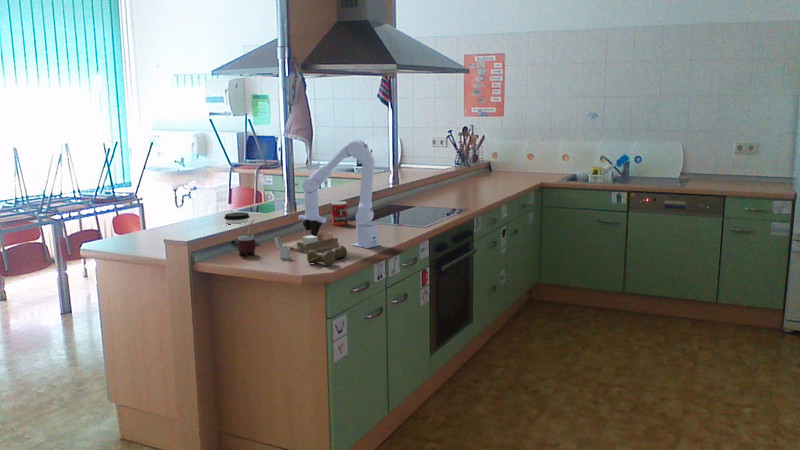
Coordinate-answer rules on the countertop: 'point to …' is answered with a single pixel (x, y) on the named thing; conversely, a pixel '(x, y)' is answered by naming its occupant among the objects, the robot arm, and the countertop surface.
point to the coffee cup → (236, 218)
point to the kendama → (327, 256)
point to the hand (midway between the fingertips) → (312, 237)
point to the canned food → (339, 213)
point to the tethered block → (321, 235)
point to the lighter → (282, 249)
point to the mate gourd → (246, 243)
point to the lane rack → (312, 245)
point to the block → (309, 239)
